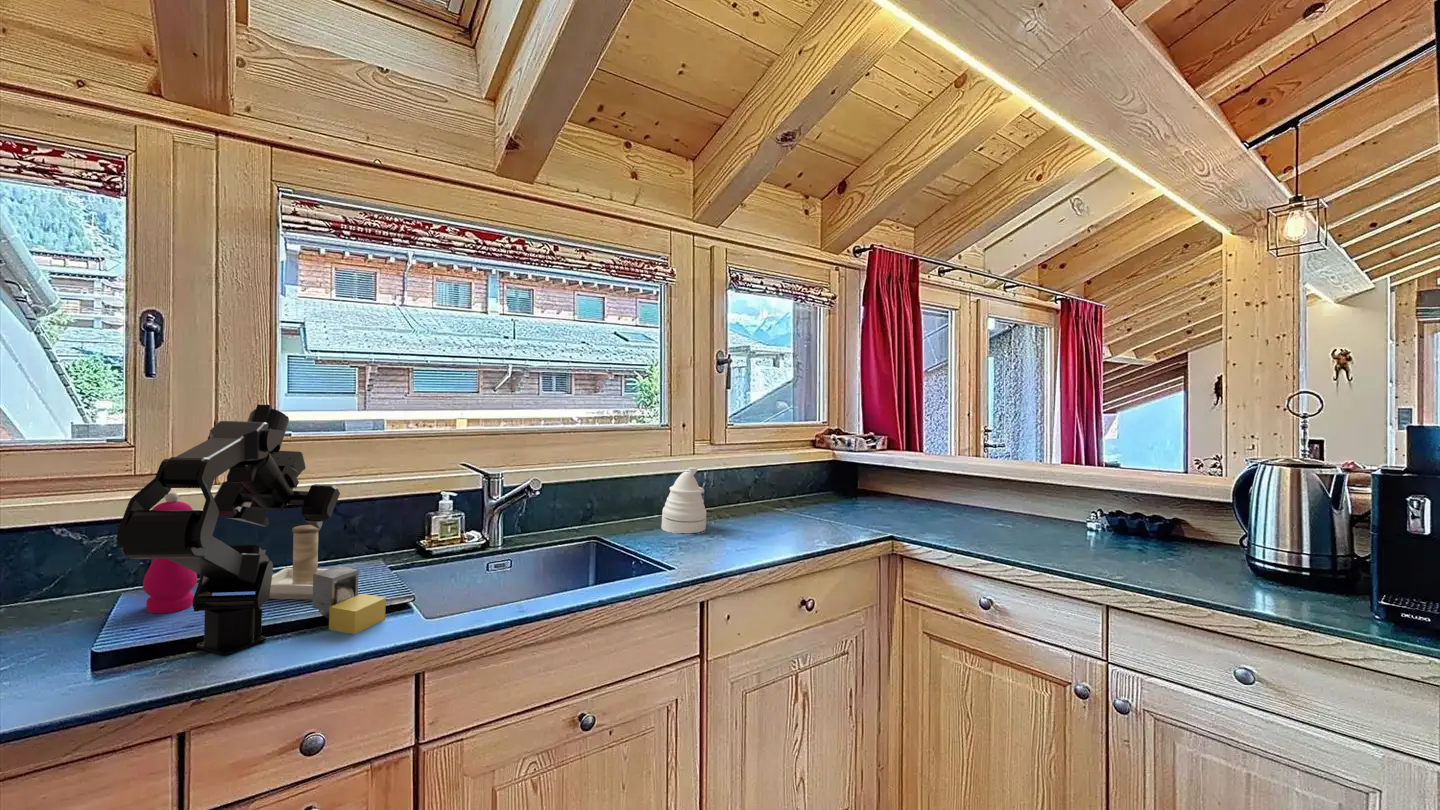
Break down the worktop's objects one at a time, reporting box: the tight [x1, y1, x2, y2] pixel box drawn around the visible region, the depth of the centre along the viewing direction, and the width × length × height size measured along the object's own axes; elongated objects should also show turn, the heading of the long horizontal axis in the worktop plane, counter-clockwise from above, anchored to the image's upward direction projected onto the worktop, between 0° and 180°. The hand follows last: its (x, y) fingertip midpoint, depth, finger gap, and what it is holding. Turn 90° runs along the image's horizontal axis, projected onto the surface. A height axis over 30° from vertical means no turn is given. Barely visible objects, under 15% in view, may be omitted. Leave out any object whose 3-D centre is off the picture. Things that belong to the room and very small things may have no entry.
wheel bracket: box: [311, 565, 360, 620], centre depth 116 cm, size 5×6×8 cm
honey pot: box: [661, 466, 707, 534], centre depth 193 cm, size 13×13×18 cm
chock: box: [328, 593, 387, 635], centre depth 113 cm, size 7×5×4 cm
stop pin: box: [291, 524, 321, 585], centre depth 127 cm, size 4×4×11 cm
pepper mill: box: [142, 492, 198, 614], centre depth 115 cm, size 7×7×20 cm
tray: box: [269, 567, 329, 600], centre depth 127 cm, size 10×12×2 cm
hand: (293, 525), depth 122 cm, fingers open, 9 cm apart
